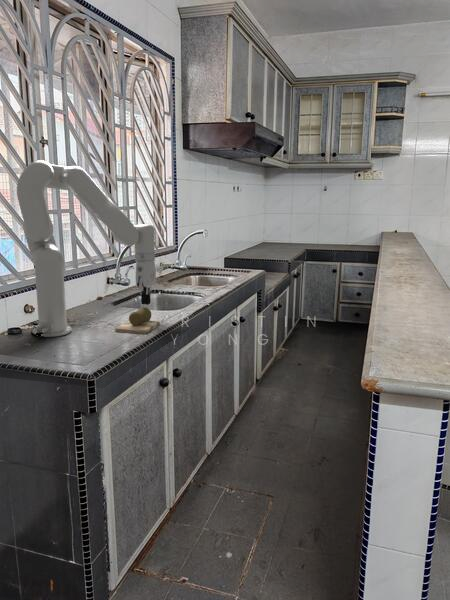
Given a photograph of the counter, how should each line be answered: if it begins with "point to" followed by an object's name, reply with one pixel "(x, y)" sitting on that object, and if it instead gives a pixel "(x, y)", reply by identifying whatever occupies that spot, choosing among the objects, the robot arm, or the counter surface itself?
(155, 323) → the cutting board
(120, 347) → the counter surface
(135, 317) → the olive pepper shaker
